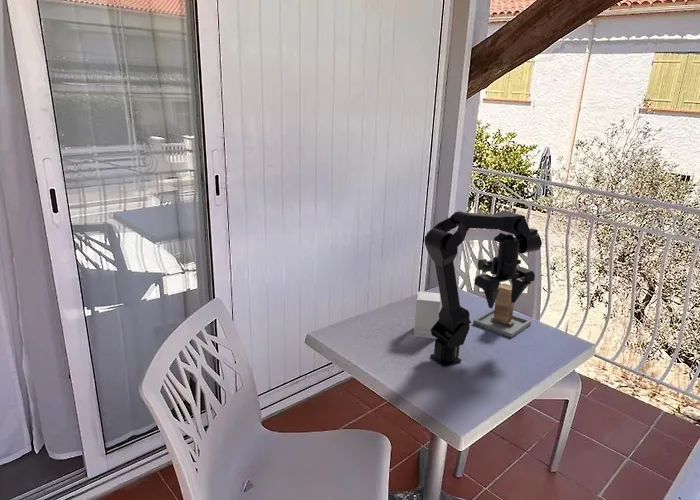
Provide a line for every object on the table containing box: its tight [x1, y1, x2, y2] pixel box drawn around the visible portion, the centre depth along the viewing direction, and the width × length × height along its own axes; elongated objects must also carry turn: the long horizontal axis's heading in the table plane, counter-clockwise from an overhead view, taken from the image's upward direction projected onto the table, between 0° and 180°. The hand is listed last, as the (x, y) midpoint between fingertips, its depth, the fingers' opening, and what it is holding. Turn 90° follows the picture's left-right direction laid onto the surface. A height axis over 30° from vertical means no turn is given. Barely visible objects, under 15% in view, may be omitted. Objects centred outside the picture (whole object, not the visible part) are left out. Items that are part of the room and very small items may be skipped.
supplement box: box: [413, 291, 441, 339], centre depth 153 cm, size 7×7×13 cm
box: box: [472, 307, 532, 339], centre depth 162 cm, size 14×14×2 cm
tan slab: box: [491, 282, 515, 327], centre depth 160 cm, size 4×7×13 cm, turn 46°
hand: (501, 305), depth 145 cm, fingers open, 9 cm apart
